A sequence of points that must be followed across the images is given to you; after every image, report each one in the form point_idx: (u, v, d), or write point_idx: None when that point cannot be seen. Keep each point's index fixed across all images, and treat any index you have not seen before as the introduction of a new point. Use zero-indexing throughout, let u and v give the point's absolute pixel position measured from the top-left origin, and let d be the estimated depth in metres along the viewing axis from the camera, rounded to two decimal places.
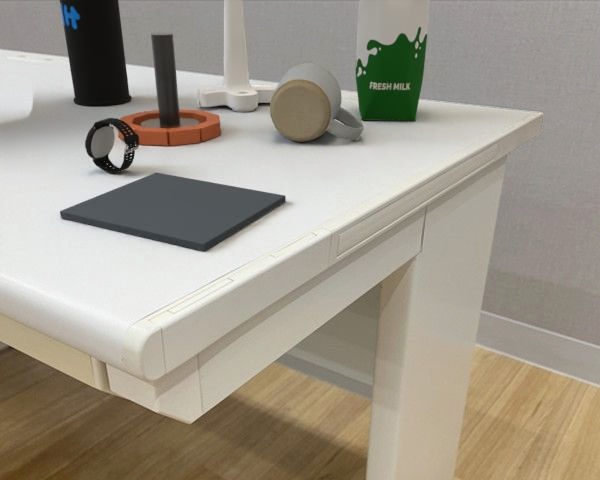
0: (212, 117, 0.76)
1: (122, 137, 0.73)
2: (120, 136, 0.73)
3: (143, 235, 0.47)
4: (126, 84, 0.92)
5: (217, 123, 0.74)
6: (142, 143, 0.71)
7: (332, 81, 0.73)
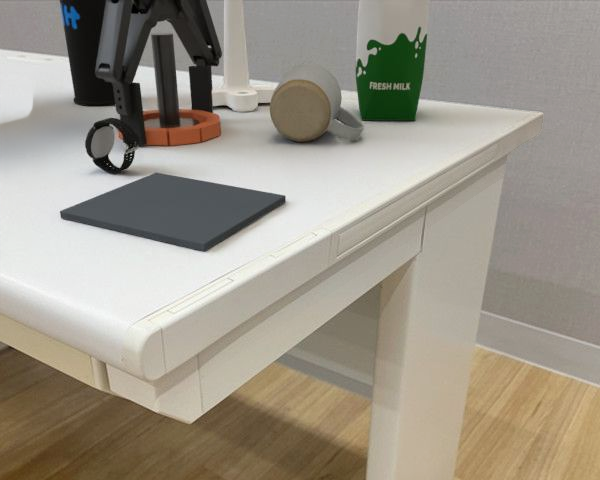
0: (212, 117, 0.76)
1: (122, 137, 0.73)
2: (120, 136, 0.73)
3: (143, 235, 0.47)
4: None
5: (217, 123, 0.74)
6: None
7: (332, 81, 0.73)
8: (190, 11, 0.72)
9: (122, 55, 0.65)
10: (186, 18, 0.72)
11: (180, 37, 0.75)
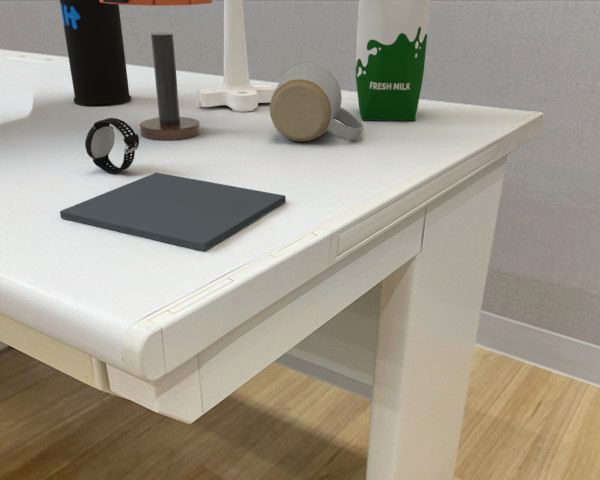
0: None
1: None
2: None
3: (143, 235, 0.47)
4: (126, 84, 0.92)
5: None
6: (124, 3, 0.64)
7: (332, 81, 0.73)
8: None
9: None
10: None
11: None
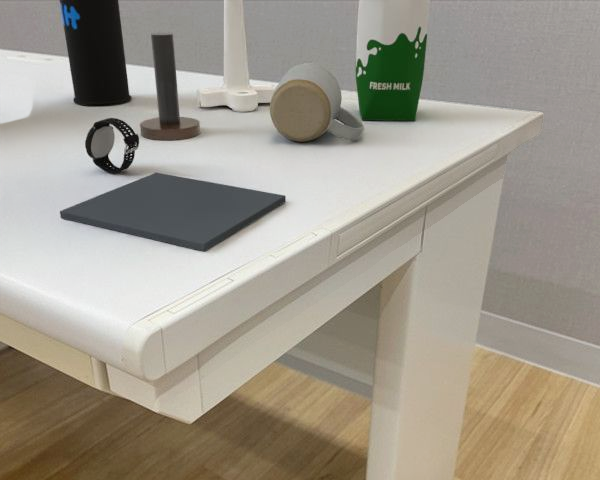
0: None
1: None
2: None
3: (143, 235, 0.47)
4: (126, 84, 0.92)
5: None
6: None
7: (332, 81, 0.73)
8: None
9: None
10: None
11: None
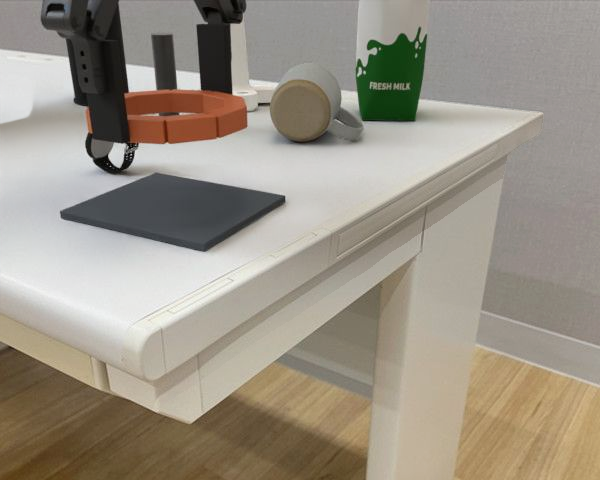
0: (234, 100, 0.50)
1: None
2: (90, 129, 0.46)
3: (143, 235, 0.47)
4: (126, 84, 0.92)
5: (242, 109, 0.47)
6: None
7: (332, 81, 0.73)
8: None
9: None
10: None
11: None
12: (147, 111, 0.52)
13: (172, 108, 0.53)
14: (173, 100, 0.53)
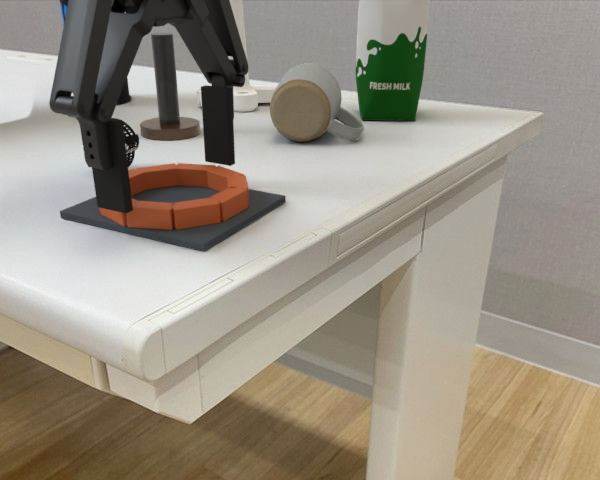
0: (236, 179, 0.53)
1: (105, 213, 0.49)
2: (102, 212, 0.49)
3: (143, 235, 0.47)
4: (126, 84, 0.92)
5: (245, 191, 0.50)
6: (133, 226, 0.47)
7: (332, 81, 0.73)
8: (204, 9, 0.47)
9: (94, 78, 0.40)
10: (198, 21, 0.48)
11: (189, 46, 0.51)
12: (154, 186, 0.55)
13: (178, 182, 0.56)
14: (179, 174, 0.56)
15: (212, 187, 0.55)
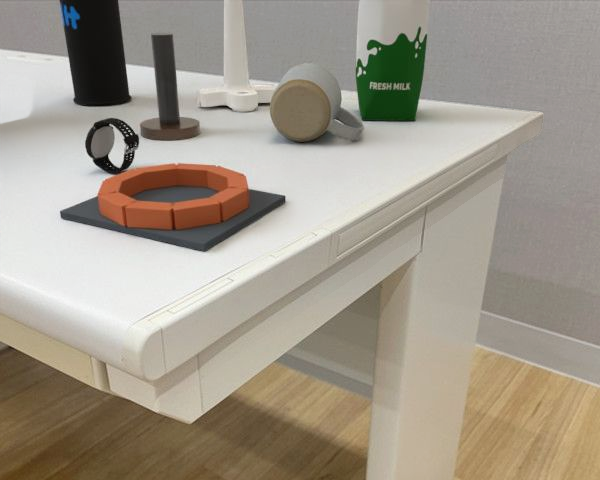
0: (236, 179, 0.53)
1: (105, 213, 0.49)
2: (102, 212, 0.49)
3: (143, 235, 0.47)
4: (126, 84, 0.92)
5: (245, 191, 0.50)
6: (133, 226, 0.47)
7: (332, 81, 0.73)
8: None
9: None
10: None
11: None
12: (154, 186, 0.55)
13: (178, 182, 0.56)
14: (179, 174, 0.56)
15: (212, 187, 0.55)
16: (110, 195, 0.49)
